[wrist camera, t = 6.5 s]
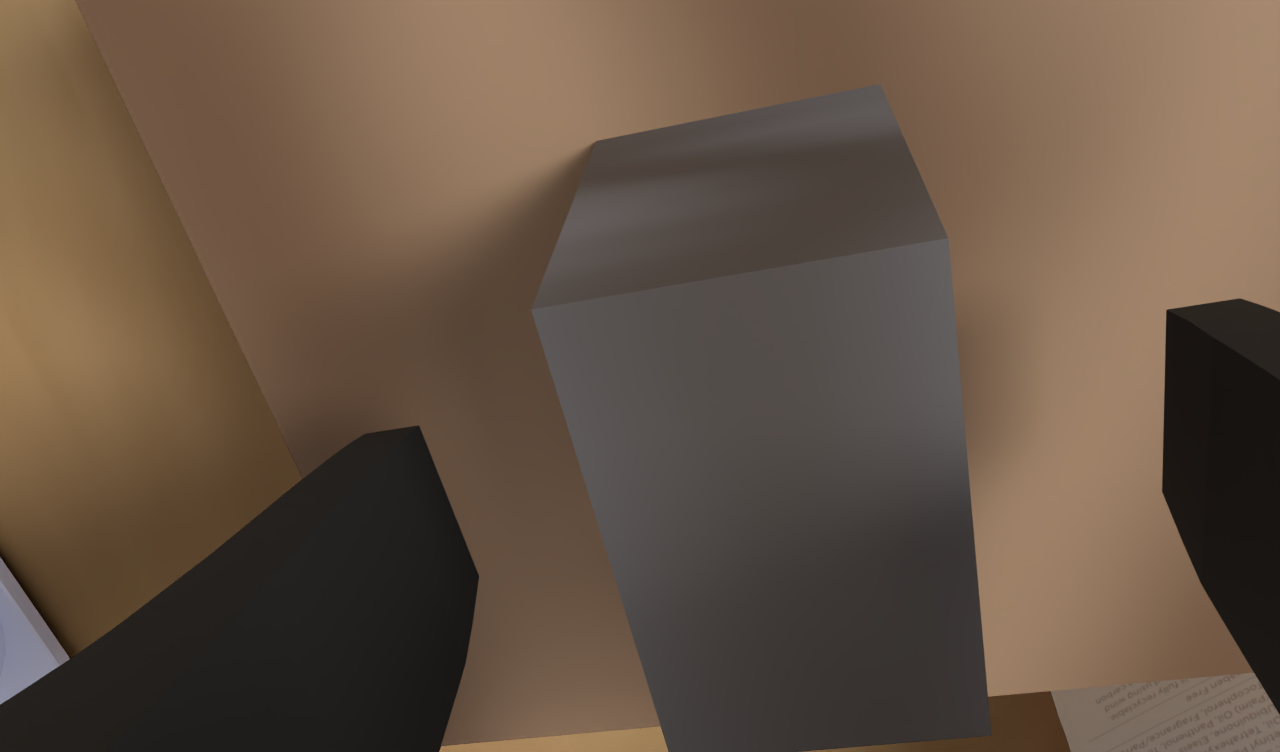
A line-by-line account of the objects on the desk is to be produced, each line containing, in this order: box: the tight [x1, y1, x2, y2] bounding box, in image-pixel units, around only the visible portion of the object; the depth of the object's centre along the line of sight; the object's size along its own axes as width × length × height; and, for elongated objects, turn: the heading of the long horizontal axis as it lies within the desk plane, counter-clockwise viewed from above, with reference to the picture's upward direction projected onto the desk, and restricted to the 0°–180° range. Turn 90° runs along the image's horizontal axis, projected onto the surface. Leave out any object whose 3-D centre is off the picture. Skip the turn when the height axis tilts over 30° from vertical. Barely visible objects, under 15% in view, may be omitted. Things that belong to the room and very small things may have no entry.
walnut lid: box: [75, 0, 1280, 752], centre depth 11 cm, size 13×13×5 cm
